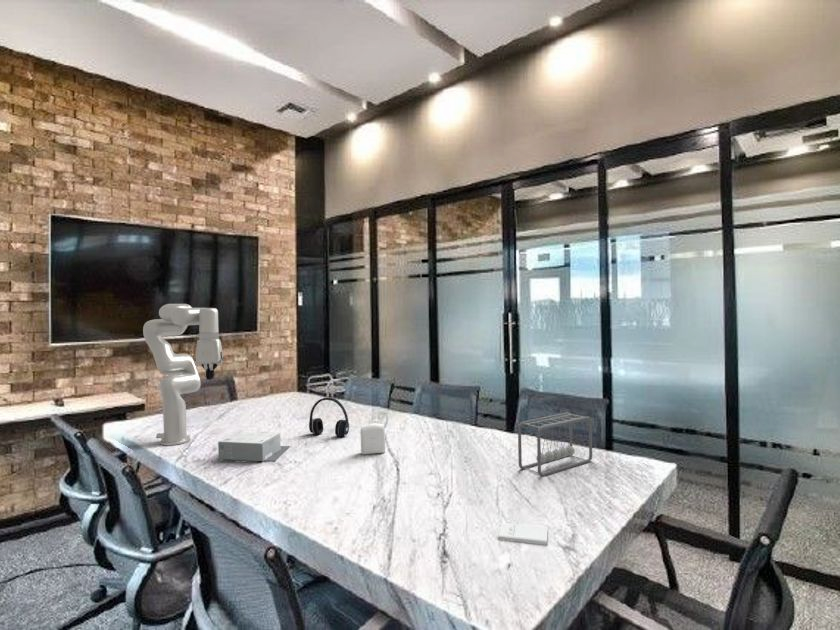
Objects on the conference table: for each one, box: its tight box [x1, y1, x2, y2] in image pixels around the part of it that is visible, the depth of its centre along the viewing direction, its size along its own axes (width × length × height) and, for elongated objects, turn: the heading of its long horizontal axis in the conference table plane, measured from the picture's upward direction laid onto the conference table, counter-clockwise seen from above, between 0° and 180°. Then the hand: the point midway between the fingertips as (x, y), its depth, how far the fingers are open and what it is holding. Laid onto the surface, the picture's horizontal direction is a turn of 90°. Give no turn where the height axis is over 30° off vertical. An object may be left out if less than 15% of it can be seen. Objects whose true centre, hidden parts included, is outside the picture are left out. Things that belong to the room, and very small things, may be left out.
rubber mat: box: [221, 445, 291, 463], centre depth 200 cm, size 22×20×1 cm
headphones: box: [308, 397, 350, 438], centre depth 227 cm, size 20×7×18 cm, turn 71°
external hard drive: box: [497, 522, 549, 546], centre depth 125 cm, size 2×8×12 cm
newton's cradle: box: [517, 411, 593, 477], centre depth 179 cm, size 30×10×18 cm, turn 124°
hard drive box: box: [217, 431, 282, 463], centre depth 198 cm, size 16×8×20 cm
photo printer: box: [360, 422, 386, 455], centre depth 199 cm, size 10×4×12 cm, turn 100°
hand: (210, 379), depth 203 cm, fingers closed
